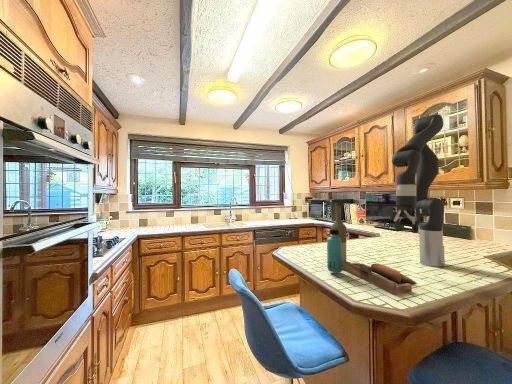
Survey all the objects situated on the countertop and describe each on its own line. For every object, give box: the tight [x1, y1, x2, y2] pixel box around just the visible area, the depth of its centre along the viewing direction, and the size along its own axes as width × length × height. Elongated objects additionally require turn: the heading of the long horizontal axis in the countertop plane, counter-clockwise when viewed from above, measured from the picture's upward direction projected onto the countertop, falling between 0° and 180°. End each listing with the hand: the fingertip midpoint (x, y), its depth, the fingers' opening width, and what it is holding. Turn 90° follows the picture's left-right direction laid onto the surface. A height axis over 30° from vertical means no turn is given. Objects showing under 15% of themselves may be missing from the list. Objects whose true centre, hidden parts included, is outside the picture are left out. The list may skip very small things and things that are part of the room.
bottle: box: [330, 205, 347, 269], centre depth 108 cm, size 7×7×30 cm
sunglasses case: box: [370, 263, 418, 285], centre depth 93 cm, size 18×7×7 cm
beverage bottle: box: [326, 228, 343, 274], centre depth 98 cm, size 6×7×20 cm
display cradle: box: [342, 260, 413, 296], centre depth 91 cm, size 8×28×6 cm, turn 14°
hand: (406, 231), depth 97 cm, fingers open, 8 cm apart
